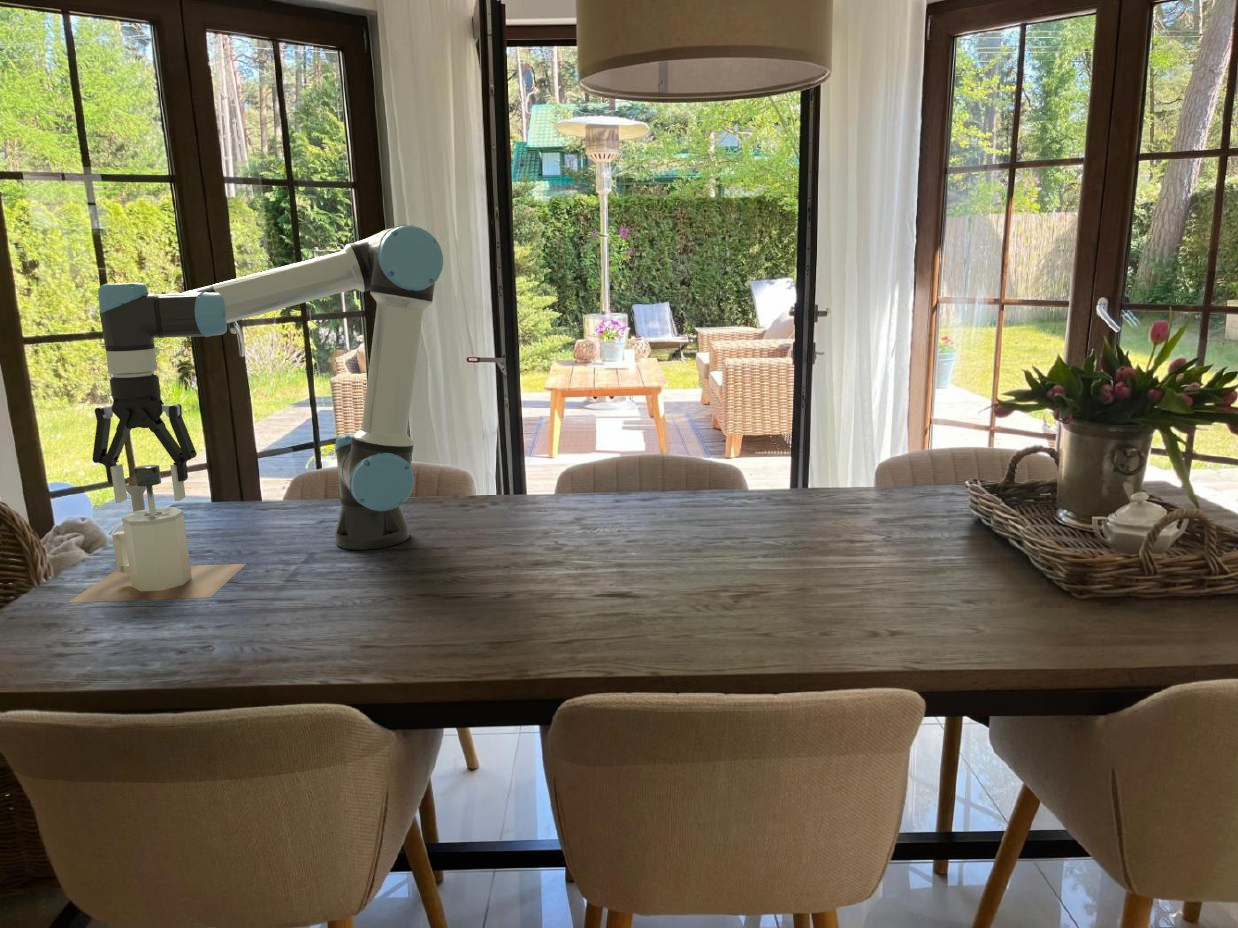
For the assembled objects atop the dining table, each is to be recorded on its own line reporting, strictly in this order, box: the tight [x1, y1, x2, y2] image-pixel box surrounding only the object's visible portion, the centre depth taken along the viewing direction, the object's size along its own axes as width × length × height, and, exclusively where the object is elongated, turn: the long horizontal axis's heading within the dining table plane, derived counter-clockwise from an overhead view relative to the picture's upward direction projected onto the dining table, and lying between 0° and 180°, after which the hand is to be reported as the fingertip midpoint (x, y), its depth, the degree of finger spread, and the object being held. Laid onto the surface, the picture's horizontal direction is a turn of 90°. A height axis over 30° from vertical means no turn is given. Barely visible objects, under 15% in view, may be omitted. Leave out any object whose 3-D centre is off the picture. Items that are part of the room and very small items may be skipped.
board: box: [67, 563, 247, 604], centre depth 165 cm, size 24×18×2 cm
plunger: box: [133, 464, 162, 516], centre depth 162 cm, size 4×4×20 cm
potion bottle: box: [125, 474, 146, 512], centre depth 180 cm, size 9×9×18 cm
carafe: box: [111, 506, 192, 591], centre depth 163 cm, size 12×9×13 cm
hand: (151, 499), depth 161 cm, fingers open, 9 cm apart
